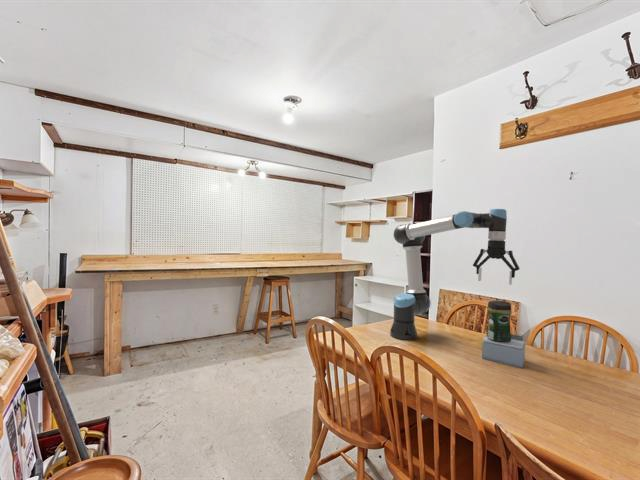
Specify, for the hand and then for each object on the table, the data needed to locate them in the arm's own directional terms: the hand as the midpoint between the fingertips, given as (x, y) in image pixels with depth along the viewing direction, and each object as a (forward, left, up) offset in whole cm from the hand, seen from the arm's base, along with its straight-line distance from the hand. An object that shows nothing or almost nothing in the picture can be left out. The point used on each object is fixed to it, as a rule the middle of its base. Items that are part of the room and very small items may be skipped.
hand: (494, 282), depth 153 cm
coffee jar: (+3, -8, -26) cm, 28 cm away
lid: (+6, -6, -27) cm, 29 cm away
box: (+6, -6, -35) cm, 36 cm away
